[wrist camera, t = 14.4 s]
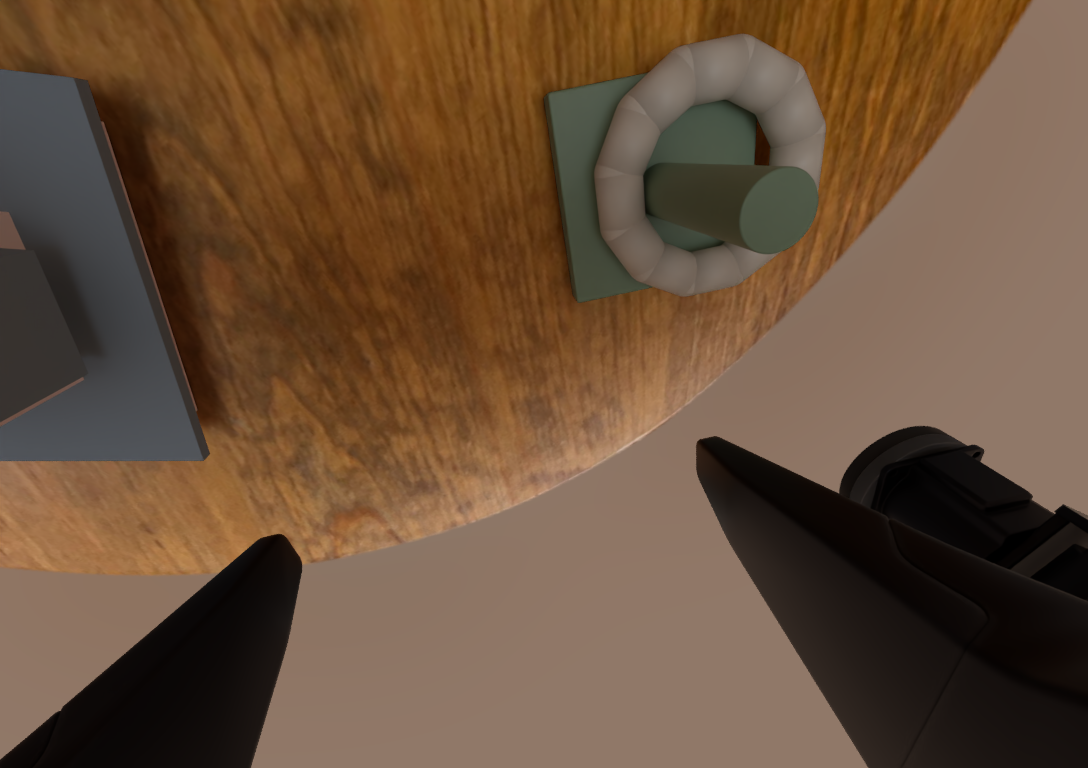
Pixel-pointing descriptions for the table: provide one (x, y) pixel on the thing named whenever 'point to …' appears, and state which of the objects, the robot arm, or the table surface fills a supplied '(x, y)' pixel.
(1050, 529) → the robot arm
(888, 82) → the table surface
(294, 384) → the table surface
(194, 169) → the table surface
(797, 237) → the post stand
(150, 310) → the desk lamp
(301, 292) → the table surface
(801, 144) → the segmented ring
